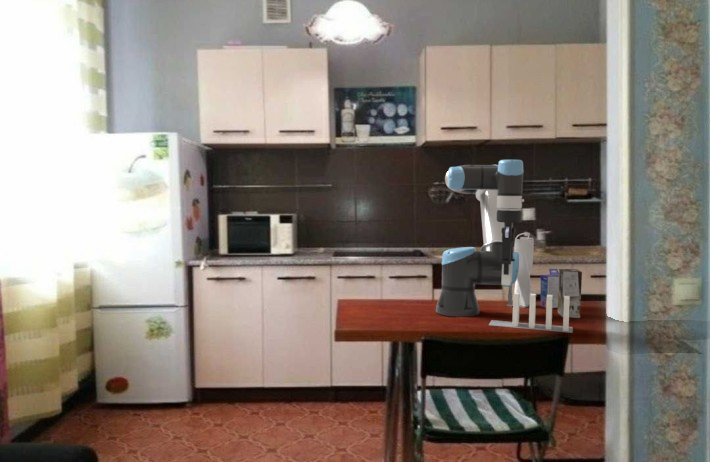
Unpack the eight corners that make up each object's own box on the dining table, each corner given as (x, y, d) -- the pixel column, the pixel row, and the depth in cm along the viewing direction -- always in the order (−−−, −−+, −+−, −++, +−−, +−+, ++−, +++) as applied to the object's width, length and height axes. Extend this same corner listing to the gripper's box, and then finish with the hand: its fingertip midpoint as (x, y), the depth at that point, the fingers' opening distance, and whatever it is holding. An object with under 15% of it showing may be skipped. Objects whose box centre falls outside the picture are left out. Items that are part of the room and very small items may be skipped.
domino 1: (512, 326, 173) (513, 294, 173) (513, 322, 178) (514, 292, 178) (517, 326, 173) (518, 295, 172) (518, 323, 177) (519, 292, 177)
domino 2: (528, 327, 172) (529, 295, 171) (529, 324, 176) (530, 293, 176) (534, 328, 171) (535, 296, 171) (535, 324, 176) (535, 293, 175)
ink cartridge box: (561, 305, 214) (562, 268, 213) (570, 307, 208) (571, 269, 208) (538, 305, 211) (540, 268, 210) (547, 308, 206) (548, 270, 205)
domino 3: (545, 329, 170) (546, 297, 169) (546, 325, 174) (547, 294, 174) (551, 329, 169) (552, 297, 169) (551, 326, 174) (552, 295, 173)
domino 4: (562, 330, 168) (564, 298, 168) (563, 327, 173) (564, 295, 172) (568, 331, 167) (569, 298, 167) (568, 327, 172) (569, 296, 172)
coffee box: (581, 318, 189) (582, 271, 188) (561, 317, 190) (562, 271, 189) (575, 313, 198) (577, 268, 197) (557, 312, 199) (558, 268, 198)
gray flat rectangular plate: (488, 326, 175) (488, 325, 175) (491, 321, 182) (491, 320, 182) (572, 333, 166) (572, 332, 166) (572, 328, 173) (572, 327, 173)
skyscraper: (515, 302, 217) (517, 232, 216) (535, 305, 212) (537, 233, 210) (506, 305, 211) (508, 233, 209) (527, 308, 205) (529, 234, 204)
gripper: (520, 211, 161) (517, 289, 163) (523, 208, 178) (520, 279, 180) (493, 210, 164) (491, 287, 166) (499, 207, 181) (497, 277, 183)
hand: (506, 282), depth 173 cm, fingers closed on teal domino, 5 cm apart
